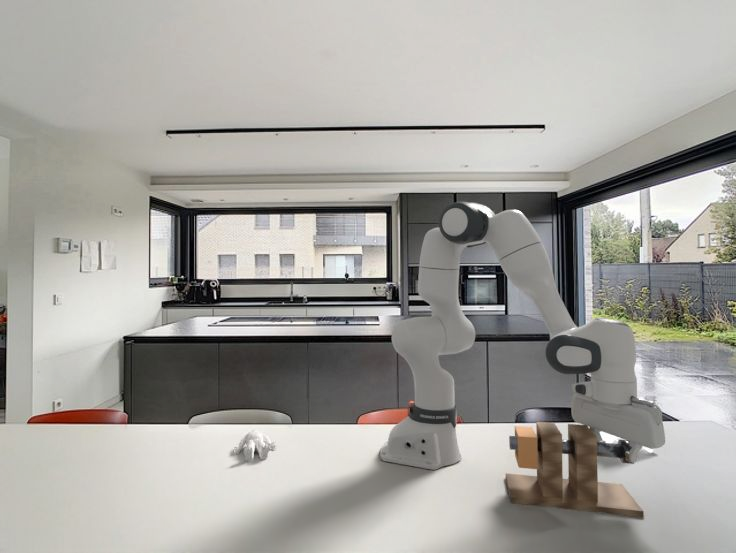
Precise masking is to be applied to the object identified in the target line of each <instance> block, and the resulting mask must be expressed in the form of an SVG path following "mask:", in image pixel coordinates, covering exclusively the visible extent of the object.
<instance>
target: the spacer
mask: <svg viewBox="0 0 736 553" xmlns="http://www.w3.org/2000/svg"><path fill="white" fill-rule="evenodd" d="M514 436H517V439H518V450H514V457H515V460H516V463H517V466H518V468H519V469H530V470H537V469H538V453H537V433H536V432H535V430H534V428H533V427H532V426H517V425H515V426H514Z"/></svg>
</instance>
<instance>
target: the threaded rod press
mask: <svg viewBox="0 0 736 553" xmlns="http://www.w3.org/2000/svg"><path fill="white" fill-rule="evenodd" d="M536 436H537V438H541V452H537V453H538V469H536V475H524V474H514V473H507V472H506V473H505V481H506V482H505V483H506V486H507V489H508V490H507V491H508V495H509V500H510V503H511V504H518V505H519V504H520V505H530V506H536V507H537V506H538V507H547V508H556V509H565V510H574V511H583V512H584V511H585V512H593V513H603V514H610V515H611V514H612V515H620V516H630V517H638V518H644V516H645V515H644V510H643V508H642V507H641V506H640V505H639V504H638V503H637V501H636V500H635V499H634V497H633V496H632V494H631V493H629V491H628V490H627V488H626V486H624V484H622V483H612V482H605V481H603V482H601V481H598V480H599V479H598V473H599V472H598V457H597V437H596V436H595V434H594V433H593V432H592V431H591V430H590V427H588V426H586V425H583V424H575V423H572V424H571V423H568V424H567V440H574V441H575V455H572V454H567V456H568V457H567V459H568V462H567V463H568V464H567V465H568V478H563V454H562V440H563V434H562V433H561V431H560V430H559V428H558V426H557V425H556V423H554V422H545V421H544V422H542V421H536Z"/></svg>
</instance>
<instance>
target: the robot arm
mask: <svg viewBox="0 0 736 553" xmlns="http://www.w3.org/2000/svg"><path fill="white" fill-rule="evenodd" d="M438 218H439V219H438V227H433V228H431V229H430V230H428V231H427V232H426V233H425V235H424V237H423V242H422V246H421V250H420V256H419V264H418V265H419V266H418V282H417V293H418V295H419V297H420V298H421V300H423V301H424V302H426V303H427V304H429V306H430V309H431V316H417V317H415V316H414V317H409V318H406V319H403V320H399V321H398V322H397V323H395V324H394V325H395V326H394V327H393V329H392V332H391V343H392V347H393V348H394V350H395V352H396V353H397V354H399V356H401V357H402V358H403V359H404V360H405V361H406V362H407V364H408V366H409V368H410V370H411V373H412V376H413V382H414V383H413V386H414V400H410V401H409V402H408V403H407V416H406V417H405V418H404V419H402V420H400V421H399V422H398V423H397V424H395V425H394V426H393V427H392V428H391V430H390V433H389V435H388V439H387V441H386V442H384V443H383V444H382V446H381V448H380V451H379V458H380V459H381V460H382V461H383V462H389V463H392V464H393V463H394V464H399V465H406V466H409V467H416V468H422V469H427V470H434V471H435V470H439V469H440V468H442V467H445V466H451V465H454V464H456V463H458V462H459V461H460V460H461V459H462V455H461V451H460V448H459V444H458V438H457V430H456V429H457V422H458V421H457V420H458V419H457V418H458V417H457V416H458V413H457V412H458V410H457V406H456V404H455V399H456V398H455V379H454V377H453V375H452V374H451V373H450V372H449V371H447V370H446V369H444V368H442V366H441V364H440V359H439V356H445V355H456V354H459V353H462V352H464V351H467V350H470V349H471V348H472V347H473V346H474V343H475V340H476V330H475V327H474V325H473V323H472V321H471V320H469V318H467V317H466V315H465V314H464V311H463V310H462V308H461V303H460V299H459V281H460V280H459V279H460V262H461V255H462V253H463V250H464V249H465V248H473V247H476V246H481V245H484V244H488V245H489V246H490V248H491V249H492V250H493V252H494V254H495V256H496V259H497V260H498V263H499V266H500V267H501V269H502V271H503V272H504V274H505V275H506V277H507V279H508V280H509V281H510V283H511V284H512V285H513V286H514V287H515V288H517V289H518V290H520V291H521V292H523V293H524V294H526V296H528V297H529V298H530V299H531V301H532V302H533V303H534V305H535V307H536V309H537V311H538V312H539V314H540V316H541V318H542V320H543V323H544V325H545V327H546V328H547V330H548V333H549V341H548V343H547V345H546V347H545V359H546V360H547V363H548V364H549V366H550V367H551V369H553V370H554V371H556V372H558V373H560V374H563V375H571V376H572V375H581V374H582V375H584V374H590V380H586V381H581V382H576V383H573V384H572V385H571V389H572V392H573V395H572V396H571V405H570V406H571V417H572V419H573V420H574V423H577V424H579V425H586V426H588V428H589V429H590V430H591V431H592V432H593V433H594V434H595V436H596V437H597V442H601V443H606V442H605V441H604V440H602V437H601V435H600V432H601V431H602V432H605V433H608V434H611V435H614V436H616V437H619V438H620V439H621V440H628V441H629V445H630V446H631V447H632V448H631V450H630V451H629V452H625V456H626V457H625V459H626V460H627V461H630V462H632V463H634V462H635V463H636V462H638V453H639V452H640V451H641V450H642V449H643V448H642V447H643V446H644V447H647V448H650V449H654V450H655V449H659V448H663V446H665V444H666V435H665V428H664V421H663V411H662V409H661V408H660V407H659V406H658V405H657V404H656V403H655V402H654V401H653V400H649V399H648V400H646V399H643V398H640V397H638V382H637V381H638V379H637V376H636V373H635V372H636V371H635V365H636V362H637V350H636V349H637V348H636V340H635V333H634V331H633V329H632V328H631V327H630V326H629V324H627V323H626V322H624V321H621V320H617V319H611V318H604V317H597V318H596V317H595V318H593V319H592V320H591V321H589V322H587V323H585V324H582V325H580V326H578V325H577V324H576V322H574V320H573V318H572V316H571V315H570V312H569V310H568V309H567V307H566V305H565V303H564V300H562V297H561V295H560V293H559V291H558V288H557V284H556V281H555V276H554V272H553V267H552V263H551V261H550V258H549V255H548V252H547V250H546V247H545V245H544V243H543V242H542V240H541V238H540V236H539V234H538V232H537V230H536V228H535V227H534V226H533V225H532V223H531V222H530V221H529V219H528V218H527V216H525V214H524V213H523V212H522V211H520V210H518V209H506V210H503V211H500V212H499V213H497V212H496V211H495V210H494V209H493V208H492V207H490V206H488V205H484V204H481V203H478V202H469V201H468V202H467V201H456V202H452V203H450V204H449V205H447V206H445V208H444V209H443V210H442V212H441V213H440V215H439V217H438ZM619 438H618V439H619ZM635 463H634V464H635Z"/></svg>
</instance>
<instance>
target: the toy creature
mask: <svg viewBox="0 0 736 553" xmlns="http://www.w3.org/2000/svg"><path fill="white" fill-rule="evenodd" d="M244 446H245V447H244ZM276 447H278V446H277V445H276V442H274V441H273V442H271V439H270V438H269V436H267V435H266V434H264V433H262V432H261V431H259V430H257V429H253V430H251V431H250V432H248V433H247V434H246V435H245V436H243V437H242V438H241V440H240V442H239V444H238V446H235V447H233V448H234V450H233V454H234V455H236V456H238V455H239V453H240V451H241V449H243V448H244V449H243V453H244V457H245V461H246V462H248V463H251V462H253V461H254V459H255V458H254V456H255V452H256V453H258V455H259V459H260V460H261V461H266V459H268V457H269V452H270V450H272V451H273V452H274V450H277V448H276Z"/></svg>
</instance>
